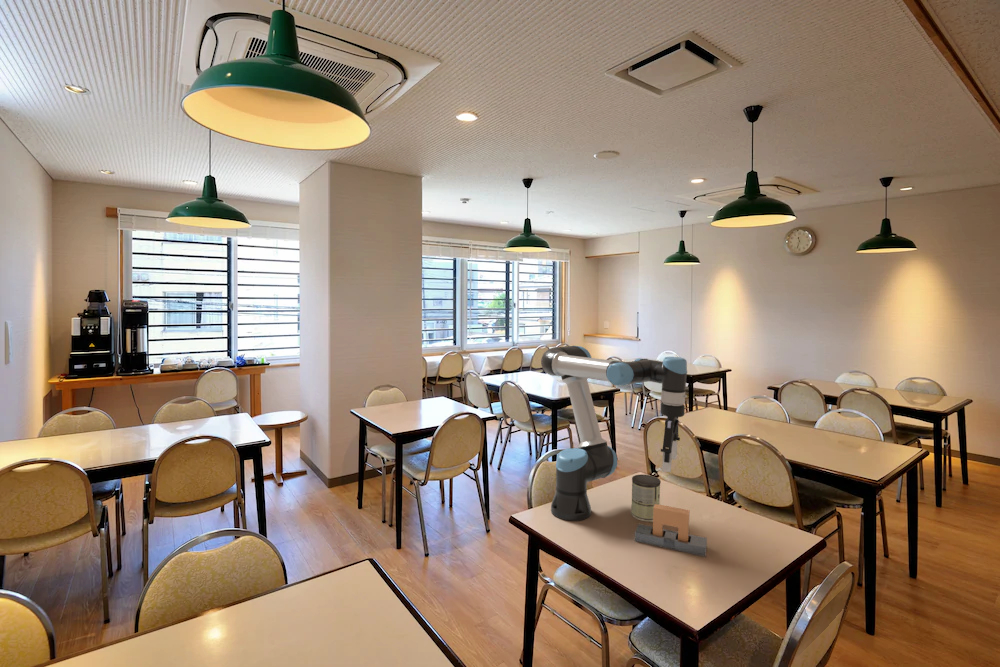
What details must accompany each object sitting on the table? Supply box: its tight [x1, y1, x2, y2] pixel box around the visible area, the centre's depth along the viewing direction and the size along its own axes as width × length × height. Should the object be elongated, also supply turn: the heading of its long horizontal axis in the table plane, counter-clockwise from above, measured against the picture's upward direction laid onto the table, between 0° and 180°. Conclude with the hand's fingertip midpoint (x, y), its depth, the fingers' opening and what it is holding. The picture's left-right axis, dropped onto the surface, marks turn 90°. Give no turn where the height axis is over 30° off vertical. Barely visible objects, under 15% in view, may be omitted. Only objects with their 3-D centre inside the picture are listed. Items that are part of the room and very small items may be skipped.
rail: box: [634, 523, 708, 558], centre depth 159 cm, size 22×7×3 cm, turn 64°
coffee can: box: [630, 474, 662, 523], centre depth 180 cm, size 10×10×14 cm
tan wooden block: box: [652, 504, 690, 542], centre depth 159 cm, size 11×4×12 cm, turn 64°
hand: (669, 464), depth 162 cm, fingers open, 13 cm apart
